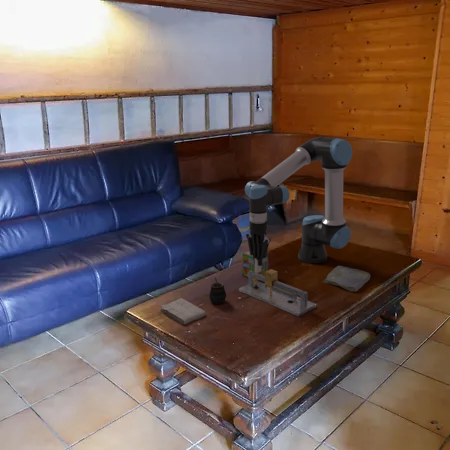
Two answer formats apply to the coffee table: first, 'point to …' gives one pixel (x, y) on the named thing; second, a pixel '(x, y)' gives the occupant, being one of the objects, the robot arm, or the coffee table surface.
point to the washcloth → (182, 311)
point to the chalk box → (250, 266)
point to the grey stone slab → (347, 278)
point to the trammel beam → (277, 295)
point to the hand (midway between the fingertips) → (257, 271)
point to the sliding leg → (270, 278)
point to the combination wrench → (285, 292)
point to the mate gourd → (217, 293)
